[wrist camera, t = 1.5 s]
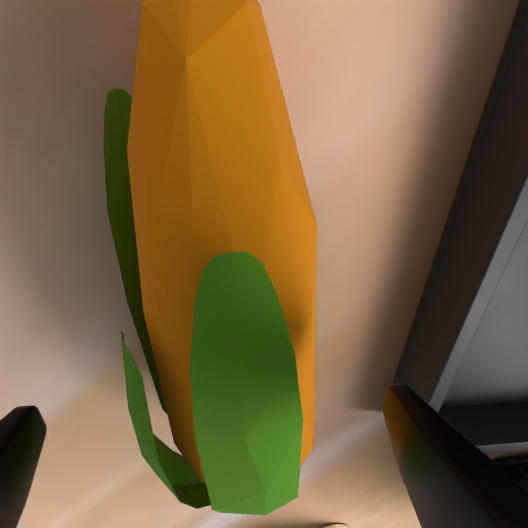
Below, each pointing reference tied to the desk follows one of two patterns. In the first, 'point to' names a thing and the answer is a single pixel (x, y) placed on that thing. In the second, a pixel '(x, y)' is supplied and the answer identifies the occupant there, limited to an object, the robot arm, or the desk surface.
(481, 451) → the robot arm
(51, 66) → the desk surface
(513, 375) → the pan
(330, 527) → the milkshake
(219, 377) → the corn
